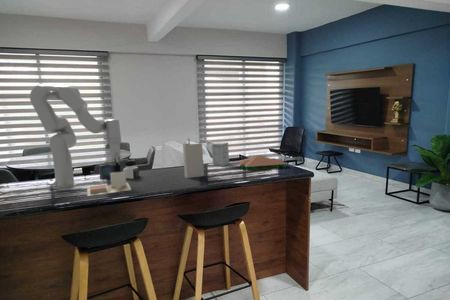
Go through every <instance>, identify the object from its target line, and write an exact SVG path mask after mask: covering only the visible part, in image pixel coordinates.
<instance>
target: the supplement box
mask: <svg viewBox="0 0 450 300" xmlns="http://www.w3.org/2000/svg"><path fill="white" fill-rule="evenodd" d="M211 151H212V152H211V153H212V166H215V167H217V166H218V167H225V166H228V165H230V156H229V155H230V153H229V152H230V151H229V142H219V141H218V142H214V143H211Z"/></svg>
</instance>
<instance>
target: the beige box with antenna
mask: <svg viewBox="0 0 450 300" xmlns="http://www.w3.org/2000/svg"><path fill="white" fill-rule="evenodd" d="M187 142H188V143H182V148H183V149H182V152H183V164H184V165H183V166H184V167H183V168H184V178H186V179H191V178H198V177H205V168H204V167H205V166H204V158H203V157H204V155H203V154H204V153H203V143H202V142H198V143H190V137H188V138H187Z"/></svg>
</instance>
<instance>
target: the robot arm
mask: <svg viewBox="0 0 450 300" xmlns="http://www.w3.org/2000/svg"><path fill="white" fill-rule="evenodd" d="M29 99H30V103H31V105H32V108H33V109H34V111H35V112H36V115H37V117H38V118H39V121H40V122H41V124H42V127H43V128H44V130H45V131H46V132H47V133H51V134H52V133H53V134H54V133H56V134H54V135H52V136H51V137H50V139H49V143H48V145H49V147H50V148H49V149H50V151H51V156H52V163H53V169H54V170H53V172H54V178H55V179H54V180H52V181H47V183H46V185H47V186H53V187H52V188H53V189H54V190H60V189H65V188H70V187H73V186H74V187H75V186H77V185H78V183H77V182H75V179H74V169H73V161H72V160H73V159H72V155H71V152H70V149H71V148H73V147H74V146H76V144H77V137H76V135H75V131H74V130H73V128H72V126H71V124H70V122H69V120H68V119H67V118H66V117H64V116H62V115H57V114H56V113H55V111H54V108H53V106H52V105H51V104H50V103H49V101H62V102H63V103H64V104H65V105H67V107H68V108H69V109H71V111H73V113H74V114H75V117H76V118H77V119H78V122H79V123H80V124H81V125H82V126H83V127H84V128H85V129H86V130H87V131H88V132H90V133H92V134H99V133H106V139H107V141H106V142H107V144H108V145H109V151H110V152H109V154H110V160H111V161H113V165H114V172H121V171H122V170H121V164H120V161H121V160H122V159H121V146H120V144H121V143H122V136H121V127H120V120H119V119H117V118H112V119H111V118H110V119H96V118H95V117H93V115H92V114H91V113H90V112H89V110H88V105H89V104H88V103H87V102H86V101H85V100H84V99H83V98H82V97H81V93H80V91H79V89H78V88H77V87H75V86H71V85H49V84H38V85H35V86H34V87H33V88H32V89H31V91H30V94H29Z"/></svg>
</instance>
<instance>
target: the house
mask: <svg viewBox="0 0 450 300" xmlns="http://www.w3.org/2000/svg"><path fill="white" fill-rule="evenodd" d="M237 164H239V165H240V168H241V169H242V170H243V169H245V170H246V171H251V170H252V168H253V170H259V167H262V169H265V170H266V169H268V166H275V169H279V167H280V166H281V167H284V168H287V165H288V163H287V162H286V161H283V160H281V159H278V158H270V157H267V156H263V155H256V156H252V157H248V158H244V159H241V160H238V161H237Z"/></svg>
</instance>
